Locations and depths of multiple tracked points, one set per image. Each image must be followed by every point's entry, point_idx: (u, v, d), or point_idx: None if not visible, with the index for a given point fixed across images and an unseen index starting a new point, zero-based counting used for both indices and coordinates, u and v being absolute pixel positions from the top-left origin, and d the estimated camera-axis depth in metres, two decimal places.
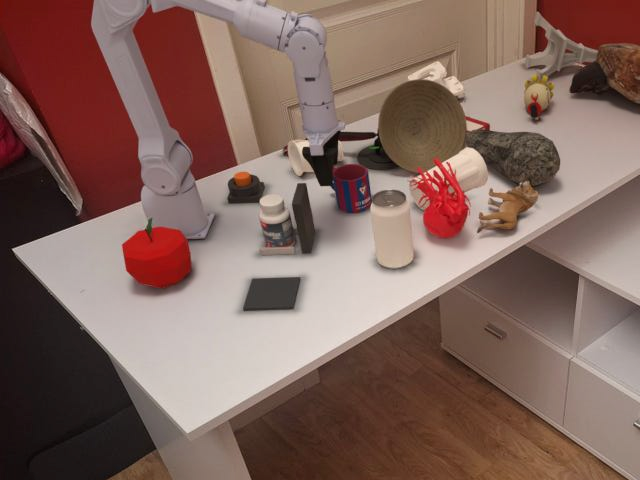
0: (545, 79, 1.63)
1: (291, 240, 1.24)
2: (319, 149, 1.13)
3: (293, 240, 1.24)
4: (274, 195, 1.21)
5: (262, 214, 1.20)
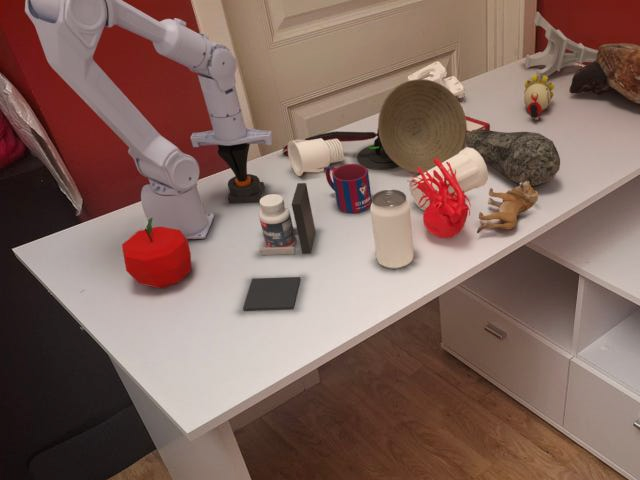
0: (545, 79, 1.63)
1: (291, 240, 1.24)
2: (271, 136, 1.31)
3: (293, 240, 1.24)
4: (274, 195, 1.21)
5: (262, 214, 1.20)
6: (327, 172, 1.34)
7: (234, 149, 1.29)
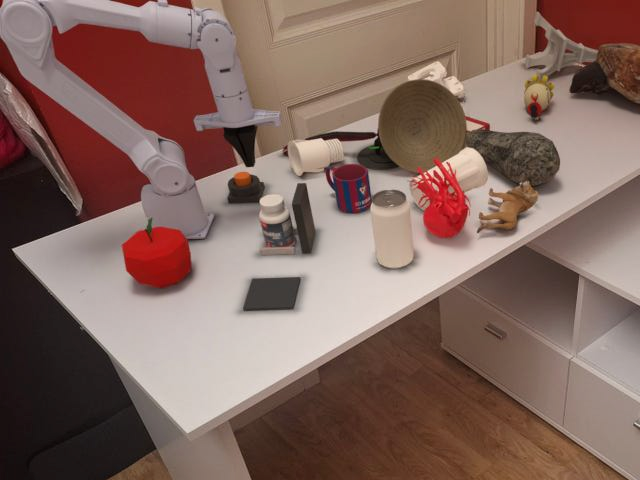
0: (545, 79, 1.63)
1: (291, 240, 1.24)
2: (280, 116, 1.21)
3: (293, 240, 1.24)
4: (274, 195, 1.21)
5: (262, 214, 1.20)
6: (327, 172, 1.34)
7: (241, 132, 1.20)
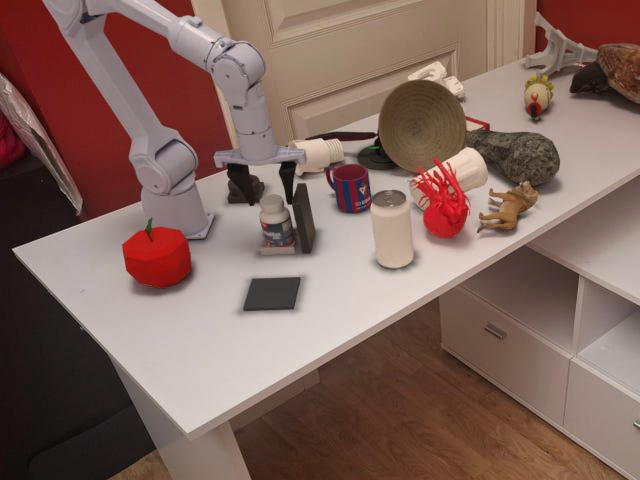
0: (545, 79, 1.63)
1: (291, 240, 1.24)
2: (305, 154, 1.15)
3: (293, 240, 1.24)
4: (274, 195, 1.21)
5: (262, 214, 1.20)
6: (327, 172, 1.34)
7: (281, 169, 1.14)
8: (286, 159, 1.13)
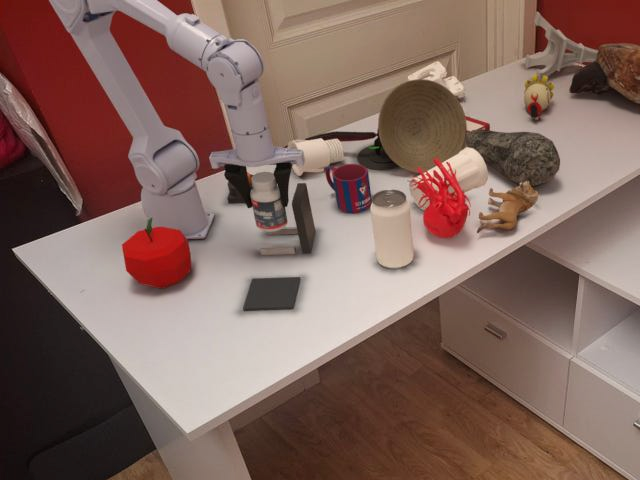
0: (545, 79, 1.63)
1: (283, 221, 1.18)
2: (303, 155, 1.12)
3: (285, 221, 1.19)
4: (267, 173, 1.15)
5: (253, 192, 1.15)
6: (327, 172, 1.34)
7: (276, 170, 1.11)
8: (283, 160, 1.10)
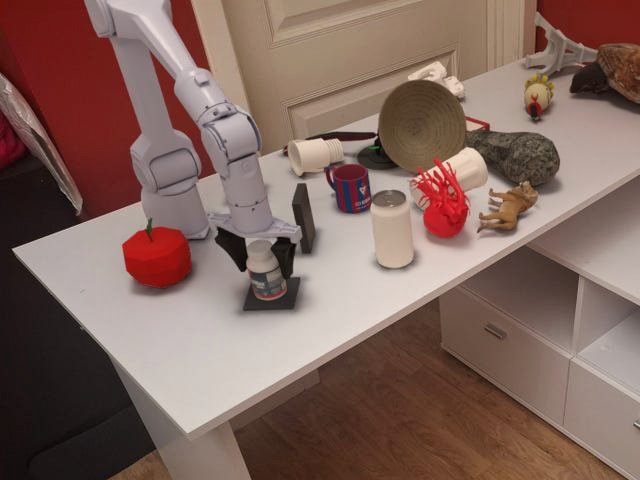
0: (545, 79, 1.63)
1: (278, 291, 1.12)
2: (300, 232, 1.05)
3: (281, 291, 1.13)
4: (265, 241, 1.09)
5: (248, 260, 1.09)
6: (327, 172, 1.34)
7: (274, 245, 1.05)
8: (276, 235, 1.04)
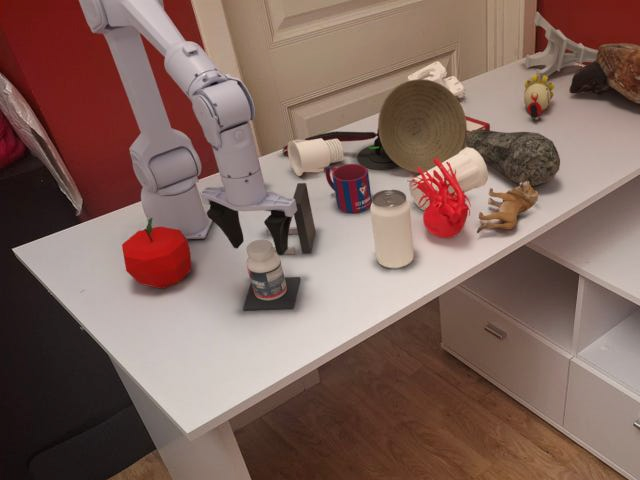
0: (545, 79, 1.63)
1: (278, 291, 1.12)
2: (294, 205, 1.02)
3: (281, 291, 1.13)
4: (265, 241, 1.09)
5: (248, 260, 1.09)
6: (327, 172, 1.34)
7: (268, 218, 1.02)
8: (270, 208, 1.01)
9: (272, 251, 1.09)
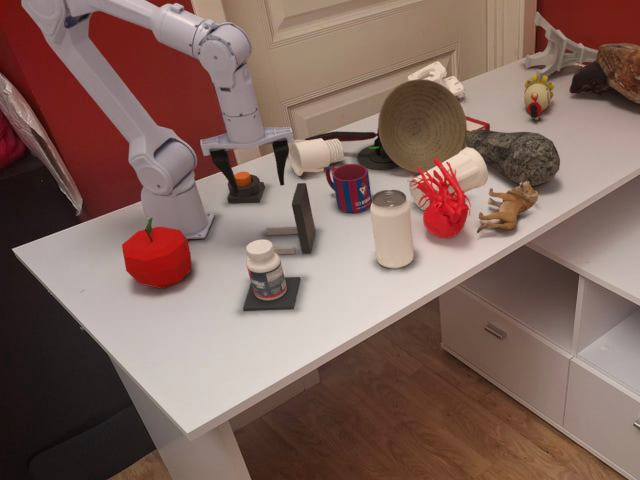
0: (545, 79, 1.63)
1: (278, 291, 1.12)
2: None
3: (281, 291, 1.13)
4: (265, 241, 1.09)
5: (248, 260, 1.09)
6: (327, 172, 1.34)
7: (275, 149, 1.15)
8: (276, 138, 1.14)
9: (272, 251, 1.09)
